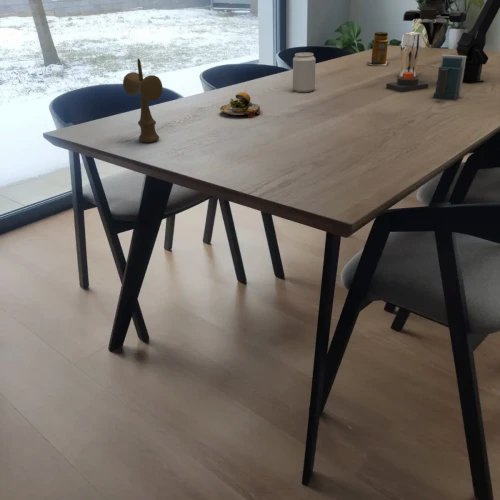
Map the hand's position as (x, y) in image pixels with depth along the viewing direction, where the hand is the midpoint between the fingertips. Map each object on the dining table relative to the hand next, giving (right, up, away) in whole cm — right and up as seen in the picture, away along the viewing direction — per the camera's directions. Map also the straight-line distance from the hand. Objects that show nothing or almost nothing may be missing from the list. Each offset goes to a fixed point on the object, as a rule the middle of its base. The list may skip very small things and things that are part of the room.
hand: (430, 44), depth 171 cm
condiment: (-7, +9, +44) cm, 46 cm away
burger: (-63, -28, -19) cm, 71 cm away
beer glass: (-2, -5, +19) cm, 20 cm away
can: (-42, -14, +5) cm, 44 cm away
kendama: (-86, -40, -39) cm, 103 cm away
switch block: (-7, -14, +2) cm, 16 cm away
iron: (+2, -14, -12) cm, 19 cm away
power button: (-7, -11, +1) cm, 13 cm away
